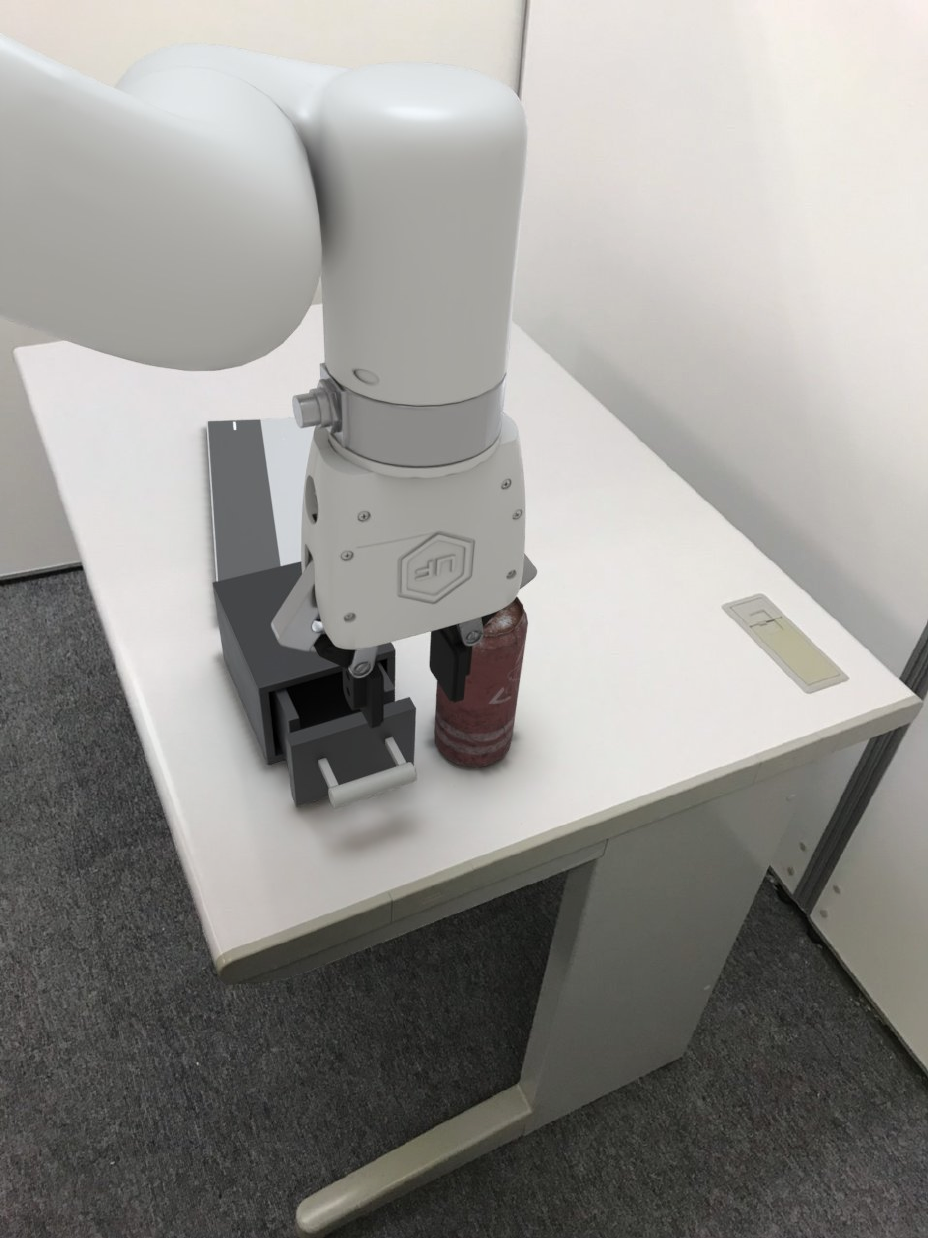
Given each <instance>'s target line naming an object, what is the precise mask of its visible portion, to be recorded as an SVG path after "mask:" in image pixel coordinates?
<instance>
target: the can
mask: <svg viewBox="0 0 928 1238" xmlns="http://www.w3.org/2000/svg"><path fill="white" fill-rule="evenodd" d="M524 608H525V607H524V604H523V603H522V602H521V599H520V598H519V597H518V595H517V596H516V598H515V599H514V601H512V602H511V603H510V604H509V605H508V606H506V607H504V608H503V609H501V610H499V611H498V612H497V613H496V614H495V615H494V617H493V618H492V619H491V620H490V621H489V622H488V623H487V624H486V625H485V626H484V627H483V631H484V636H483V638H482V640H481V641H480V642H479V643H478V644H476V645H474V646H473V647H472V658H471V669H470V675H469V676H466V680H465V692H464V700H462V701H459V702H456V703H454V702H453V701H449V699H448V698H447V696H446V695H445V693H444V691H443V690H442V688H441V687H440V685H439V683H438V682H437V681H436V690H435V691H436V693H435V707H434V708H435V709H434V726H433V727H434V728H433V736H434V737H433V738H434V742H435V744H436V747H437V749H438V750H439V751H440V752H441V753H442V755H444V756H445V758H447V759H448V760H449V761H451V762H453V763H455V764H456V765H458V766H462V767H467V768H483V767H487V766H491V765H492V764H494V763H495V762H497V761H498V760H500V759H502V758H503V757H504V756H505V755H506V754H507V753H508V751H509V750H510V748H511V744H512V741H513V736H514V728H515V721H516V712H517V706H518V699H519V691H520V683H521V676H522V671H523V662H524V657H525V648H526V641H527V633H528V626H529V620H528V614H527V613H526V610H525V609H524Z"/></svg>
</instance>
